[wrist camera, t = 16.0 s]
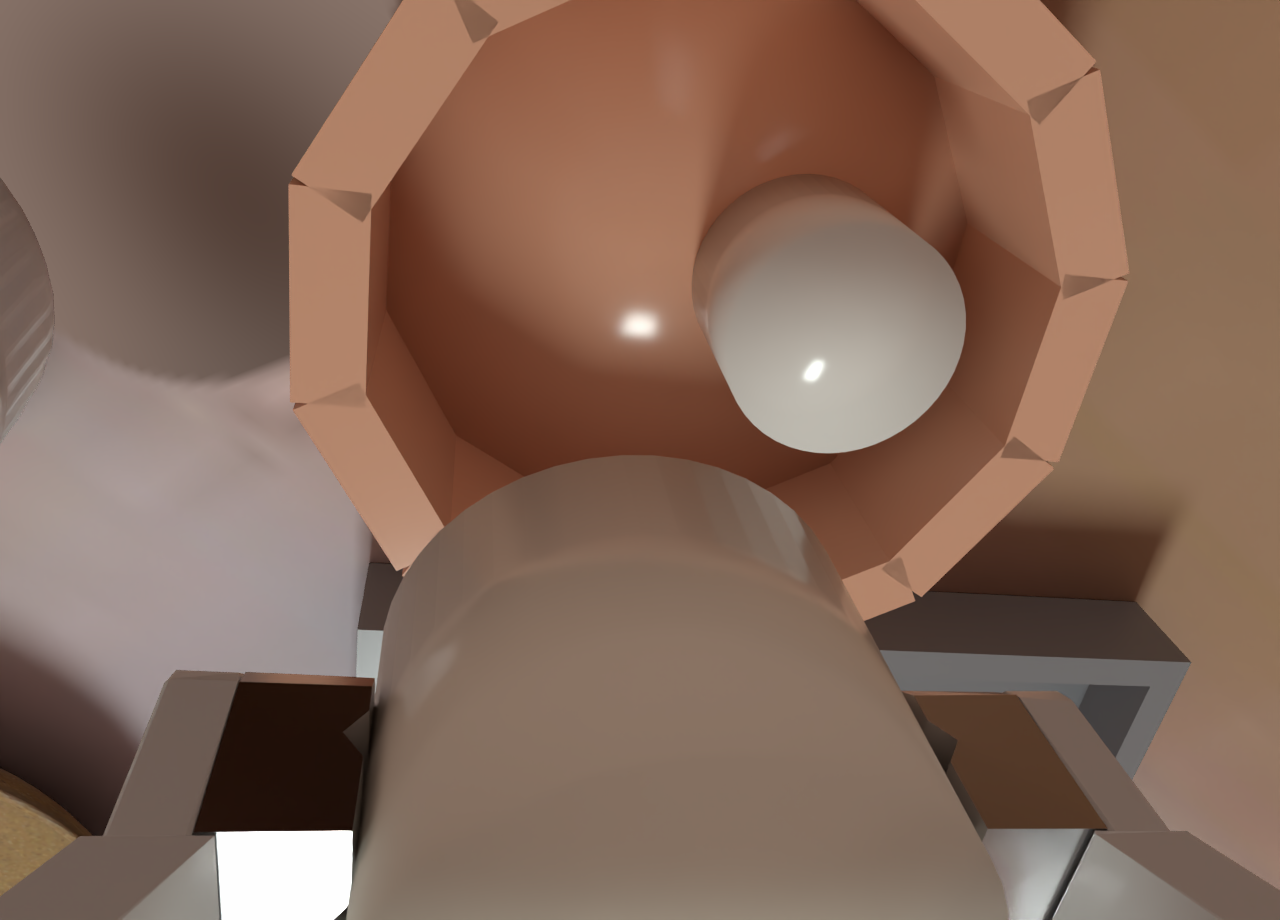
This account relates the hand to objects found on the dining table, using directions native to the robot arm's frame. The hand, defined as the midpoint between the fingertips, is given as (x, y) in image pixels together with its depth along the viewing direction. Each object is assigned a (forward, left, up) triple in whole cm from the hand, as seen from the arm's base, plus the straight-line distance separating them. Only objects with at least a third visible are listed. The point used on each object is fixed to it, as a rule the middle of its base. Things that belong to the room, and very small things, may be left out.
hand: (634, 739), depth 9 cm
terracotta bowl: (-3, 0, -14) cm, 14 cm away
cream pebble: (0, 0, -1) cm, 1 cm away
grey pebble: (-5, 0, -13) cm, 14 cm away
